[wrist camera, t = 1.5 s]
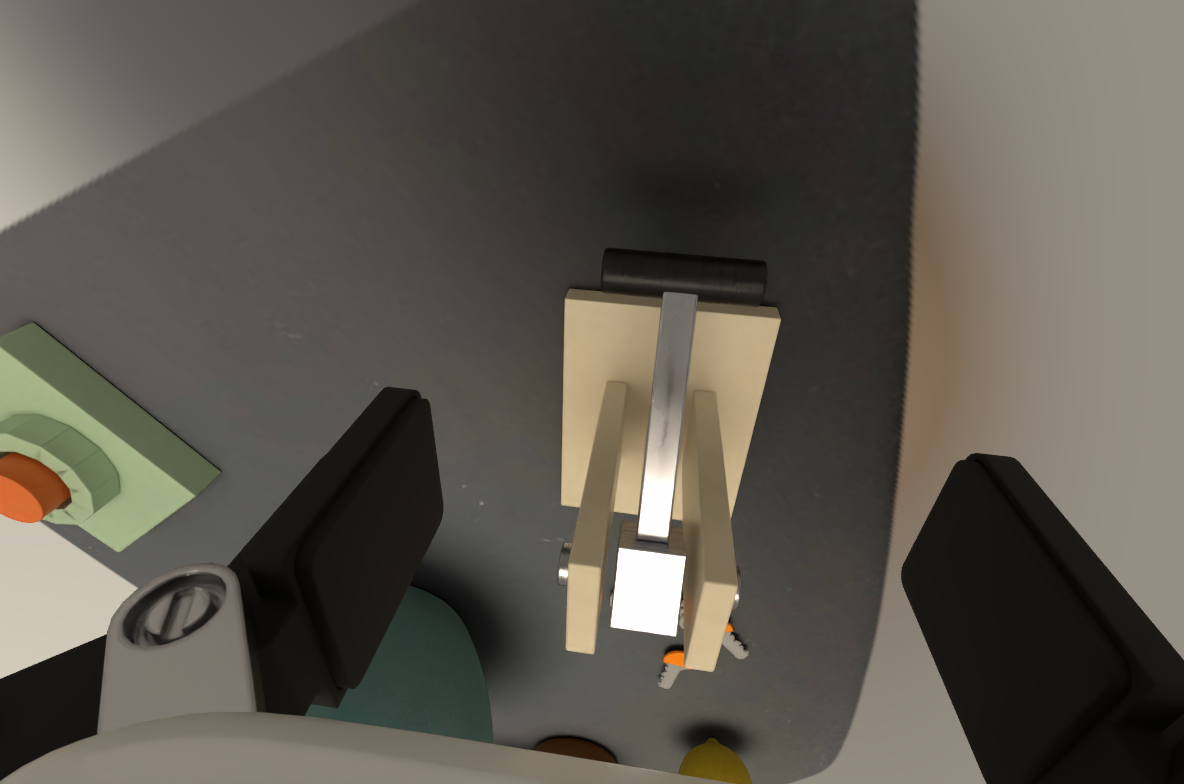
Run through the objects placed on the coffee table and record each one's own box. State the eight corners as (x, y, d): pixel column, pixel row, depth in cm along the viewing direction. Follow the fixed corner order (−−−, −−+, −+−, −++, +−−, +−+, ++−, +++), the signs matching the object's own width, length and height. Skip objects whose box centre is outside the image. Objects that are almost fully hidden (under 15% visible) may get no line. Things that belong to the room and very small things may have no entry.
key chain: (592, 566, 34) (590, 577, 33) (711, 548, 31) (712, 559, 31) (655, 684, 39) (654, 696, 39) (758, 676, 37) (760, 688, 37)
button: (-5, 467, 30) (-39, 489, 29) (20, 441, 29) (-15, 462, 28) (57, 509, 32) (27, 531, 30) (83, 486, 30) (53, 508, 29)
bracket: (569, 288, 24) (495, 456, 14) (776, 307, 23) (850, 498, 14) (564, 490, 31) (511, 702, 21) (727, 510, 30) (752, 740, 20)
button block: (-30, 403, 33) (-109, 444, 30) (33, 321, 29) (-51, 357, 26) (145, 528, 38) (93, 575, 34) (221, 471, 34) (171, 519, 30)
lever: (608, 252, 19) (602, 242, 16) (757, 265, 18) (774, 256, 16) (575, 587, 20) (566, 621, 18) (712, 605, 20) (721, 644, 17)
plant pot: (449, 717, 46) (384, 909, 36) (249, 611, 41) (108, 797, 31) (584, 630, 37) (549, 853, 27) (349, 484, 33) (200, 686, 22)
